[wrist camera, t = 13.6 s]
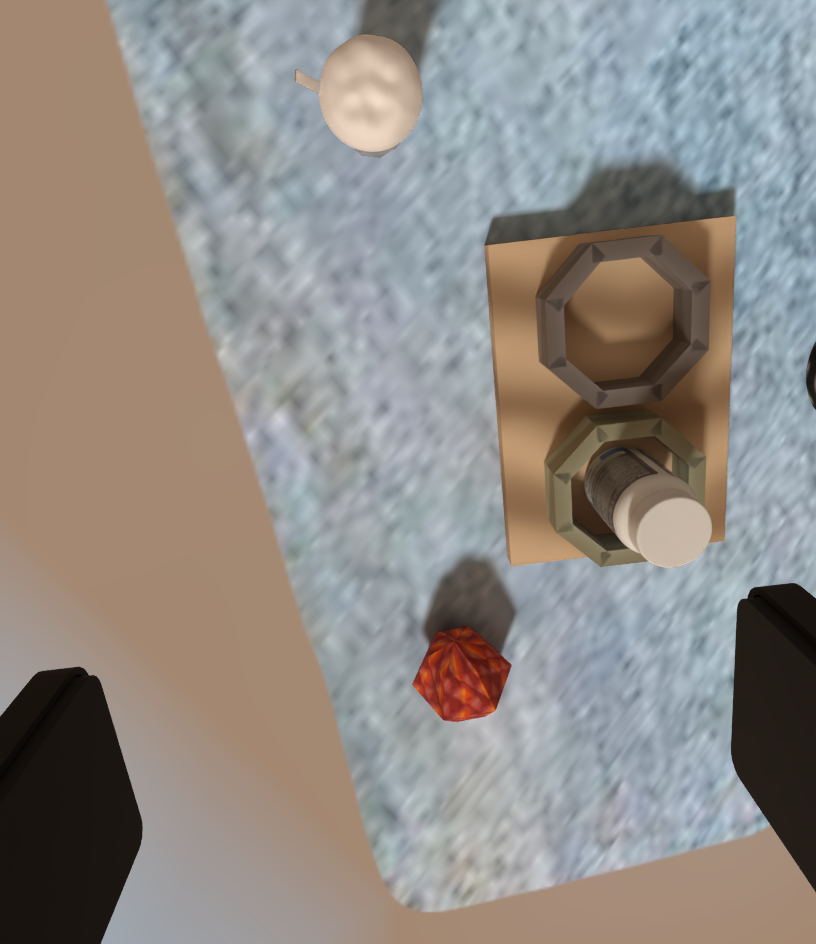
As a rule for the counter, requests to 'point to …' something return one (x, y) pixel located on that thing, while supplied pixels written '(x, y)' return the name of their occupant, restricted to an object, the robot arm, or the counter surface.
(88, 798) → the robot arm
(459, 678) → the decorative stone
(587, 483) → the pill bottle
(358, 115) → the milkshake
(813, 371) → the spotted tube
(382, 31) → the counter surface
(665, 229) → the socket board
